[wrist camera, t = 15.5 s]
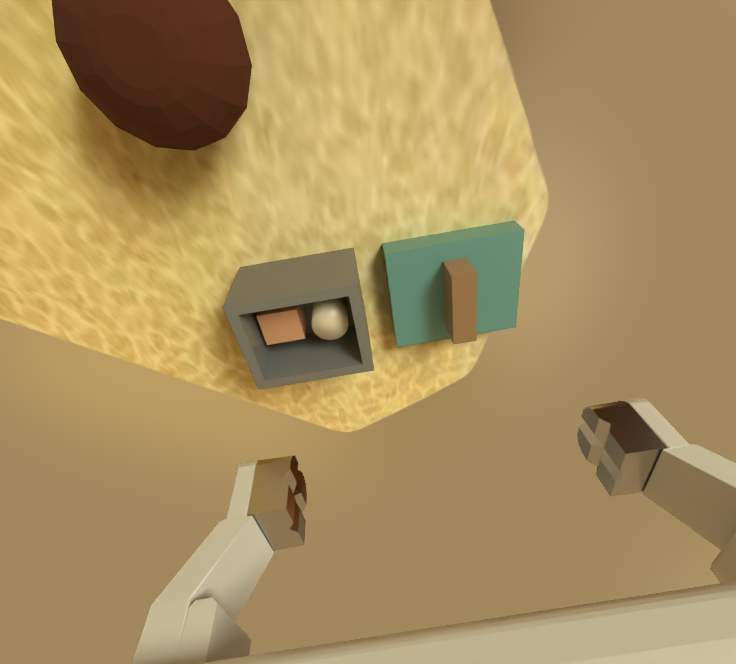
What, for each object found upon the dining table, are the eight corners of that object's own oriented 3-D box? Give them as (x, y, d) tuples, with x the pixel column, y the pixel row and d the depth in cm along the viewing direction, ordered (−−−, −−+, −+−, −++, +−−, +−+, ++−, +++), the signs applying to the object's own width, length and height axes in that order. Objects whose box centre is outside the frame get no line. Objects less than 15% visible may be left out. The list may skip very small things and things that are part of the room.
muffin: (288, 26, 30) (272, 15, 22) (236, 161, 35) (208, 193, 27) (120, -92, 26) (23, -160, 18) (89, 80, 31) (3, 89, 23)
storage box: (268, 343, 47) (258, 389, 40) (239, 267, 41) (222, 307, 34) (367, 326, 46) (374, 370, 40) (353, 247, 41) (358, 284, 34)
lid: (394, 334, 47) (401, 366, 42) (382, 243, 41) (389, 269, 36) (507, 315, 47) (528, 345, 42) (514, 220, 40) (540, 243, 35)
